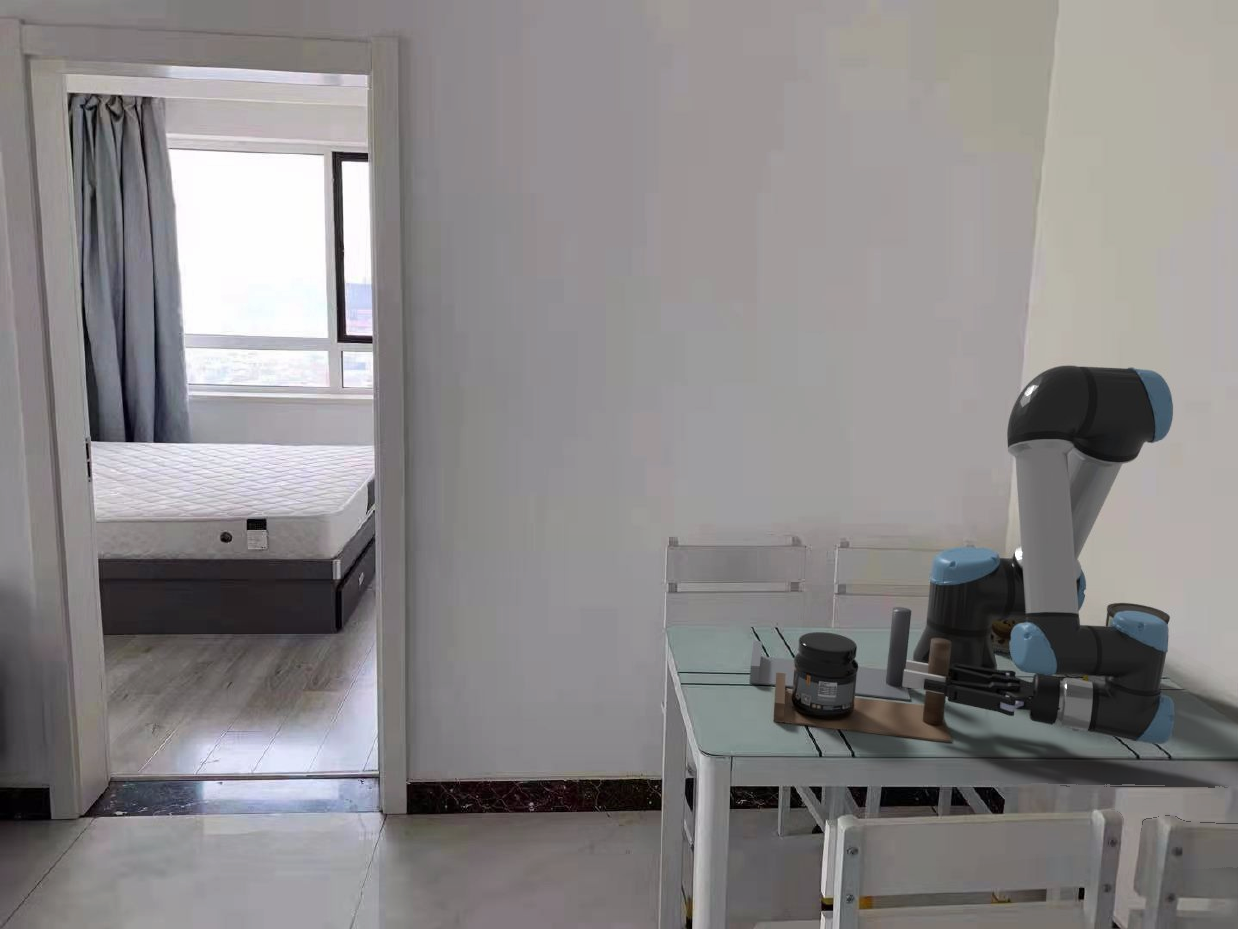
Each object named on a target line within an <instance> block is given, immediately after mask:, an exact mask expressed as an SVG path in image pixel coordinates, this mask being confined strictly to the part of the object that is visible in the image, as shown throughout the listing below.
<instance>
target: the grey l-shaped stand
mask: <svg viewBox="0 0 1238 929" xmlns="http://www.w3.org/2000/svg"><path fill="white" fill-rule="evenodd" d="M911 617H912V609H910V608H907V607H904V606H903V607H902V606H900V607H899V606H896V607H893V608H892V614H891V626H890V635H889V643H888V644H889V645H888V646H889V647H888V654H887V667H886V669H884V668H874V667H866V666H865V667H864V666H858V671H857V678H856V689H855V696H864V697H872V698H873V697H874V698H881V699H892V700H899V701H900V700H901V701H909V702H910V701H911V697H910V693H909V689H908V687H903V686H902V683H903V674H904V669H906V662H907V660H908V659H907V657H908V649H909V648H908V647H909V639H910V637H909V636H910V630H911V629H910V628H911V620H912V619H911ZM762 649H763V641H760V640H753V645H752V653H751V661H750V672H749V684H755V685H765V686H766V685H767V686H773V687H775V685H776V673H785V674H786V675H785V688H792V689H793V678H794V665H795V664H794V659H793V658H792V659H789V658H782V657H769V656H764V655H763V656H762Z"/></svg>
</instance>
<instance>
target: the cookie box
mask: <svg viewBox="0 0 1238 929" xmlns="http://www.w3.org/2000/svg"><path fill="white" fill-rule="evenodd" d="M1025 622H1026V621H1011V620H992V627H991V641H992V645H993V650H994V652H1000V651H1002V652H1003V653H1008V652H1010V645H1009V642H1010V640H1011V632H1012V629H1013V628H1014V626H1015V625H1017V624H1019V623H1025Z"/></svg>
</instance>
